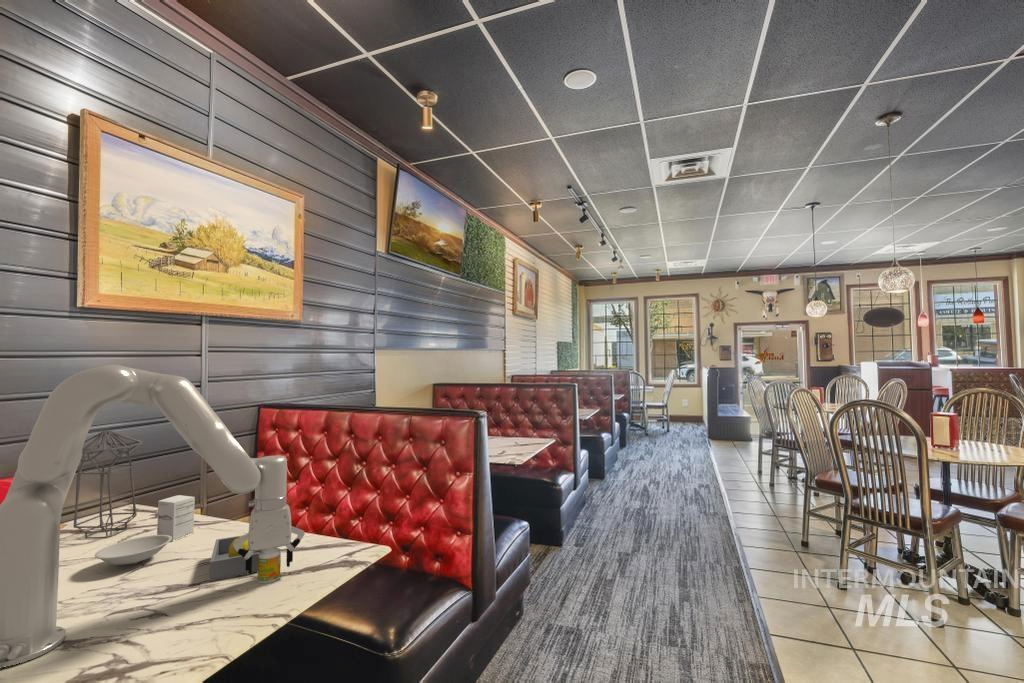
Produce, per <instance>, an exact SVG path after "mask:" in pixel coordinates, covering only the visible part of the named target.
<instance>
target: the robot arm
mask: <svg viewBox="0 0 1024 683" xmlns="http://www.w3.org/2000/svg"><path fill="white" fill-rule="evenodd" d="M118 402H119V403H125V404H132V405H133V404H134V405H139V406H146V407H154V408H158V409H159V411H160V412H161V413H162V414H163V415H164V417H165V418H166V419H167V421H168V422H169V423H170V424H171V425H172V426H173V427H174V429H175V430H176V431H177V433H178V434H179V435H180V437H182V438H183V440H184V441H185V443H187V444H188V446H189V447H190V448H191V449H192V450H193V451H194V452H195V453H196V454H198V455H199V456H200V457H201V458H202V459H203V460H205V462H206V463H207V464H208V466H210V468H212V470H213V471H214V472H215V474H216V475H217V476H218V477H219V478H220V481H221V483H223V485H225V487H226V488H227V489H228V490H229V491H230V492H232V494H233V493H234V494H235V495H247V494H249V493H251V492H253V491H254V499H253V500H251V501H248V508H250V507H253V509H252V510H251V513H250V517H249V524H248V532H247V533H246V534H243V535H244V536H243V537H241V538H240V539H238V540H237V541H235V542H234V543H233V547H234V548H235V550H236V551H237V552H238V554H240V555H241V556H242V557H244V558H245V559H246V568H245V571H247V570H248V574H247V575H252V574H253V573H252V556H251V555H252V554H253V552H254V551H259V550H265V549H271V548H276V547H277V548H282V547H286V548H287V549H286V559H285V560H286V561H285V562H286V563H285V564H286V567H287V568H290V566H291V563H293V562H294V561H293V559H294V558H293V557H294V556H293V554H294V551H295V548H297V547H298V545H299V544H300V543H301V541H302V539H303V538H304V536H305V533H306V532H305V531H304V530H303V529H300V528H298V527H295V526H293V525H292V515H291V508H290V505H289V504H287V489H288V488H287V486H288V485H287V481H288V480H287V477H288V474H287V473H288V460H287V458H286V457H285V456H283V455H267V456H261V457H250V456H249V454H248V453H247V452H246V451H245V449H244V448H243V447H242V445H240V443H239V442H238V441H237V439H235V437H234V436H233V435H232V432H230V430H229V429H228V428H227V426H226V425H225V423H224V422H223V421H222V420H221V418H220V417H219V416H218V415H217V413H216V412H215V411H214V409H213V408H212V407H211V406H210V404H209V403H208V401H207V400H206V399H205V397H203V396H202V394H201V393H200V391H199V390H198V389H197V387H196V386H195V385H194V384H193V383H192V382H191V381H190V380H189V379H188V378H186V377H183V376H181V375H180V376H179V375H176V374H175V375H173V374H166V373H160V372H154V371H149V370H144V369H139V368H132V367H129V366H125V365H120V364H107V365H106V364H105V365H102V366H97V367H93V368H92V367H91V368H88V369H85V370H82V371H79V372H77V373H75V374H73V375H71V376H70V377H67V378H65V379H64V380H63V381H62V382H60V383H59V384H58V385H57V386H56V387H55V388H54V389H53V390H52V392H51V393H50V394H49V396H48V397H47V399H46V400H45V402H44V405H43V407H42V409H41V410H40V413H39V415H38V418H37V420H36V422H35V424H34V425H33V428H32V431H31V433H30V436H29V439H28V440H27V442H26V445H25V447H24V449H23V450H22V451H21V452H20V454H19V457H18V459H17V460H18V461H17V469H16V471H15V472H14V476H13V477H12V478H13V479H12V480H11V483H10V486H9V489H8V491H7V493H6V496H5V498H4V500H3V501H2V502H1V503H0V667H4V666H9V665H13V666H16V664H17V665H19V663H20V664H24V663H25V662H28V660H29V661H32V660H33V659H35V658H39V657H40V656H42V655H45V654H47V653H49V652H50V651H52V650H54V649H55V648H56V647H58V646H60V644H62V643H63V642H64V640H65V639H66V637H67V630H66V628H64V627H62V626H58V625H57V617H58V616H57V615H58V613H57V612H58V597H59V596H58V595H59V594H58V590H59V571H60V543H61V542H60V540H61V539H60V538H61V536H60V535H61V521H62V512H63V509H64V504H65V502H66V499H67V496H68V494H69V490H70V488H71V485H72V483H73V480H74V477H75V475H76V472H77V469H78V468H79V464H81V462H80V460H81V457H82V455H83V454H82V452H83V451H82V449H84V444H85V443H86V442H85V441H86V440H87V438H88V437H87V436H88V433H89V431H90V428H91V427H92V425H93V422H94V420H95V417H96V414H98V412H99V410H101V409H102V408H103V407H104V406H106V405H108V404H110V403H111V404H112V403H118ZM84 442H85V443H84ZM82 458H83V457H82ZM292 534H294V535H297V536H296V537H295V538H294V540H293V541H292ZM247 540H248V549H247V550H245V549H244V548H243V547H242V546H241V544H242V543H244V542H245V541H247ZM9 667H10V666H9Z"/></svg>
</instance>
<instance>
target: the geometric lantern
mask: <svg viewBox="0 0 1024 683" xmlns="http://www.w3.org/2000/svg"><path fill="white" fill-rule="evenodd" d="M124 439H127V440H129V441H133V442H128V441H126V440H124ZM91 440H92V441H91ZM89 441H91V442H90V443H89V444H87V445H86V446H85V447H83V448H82V451H83V452H82V457H81V460H80V466H79V467H78V472H77V474H76V485H75V486H76V487H75V506H74V517H73V525H72V526H73V528H74V529H78V530H79V531H81V532H84V538H86V539H102V538H103V539H109V538H112V537H114V536H116V535H118V534H120V533H123V532H125V531H128V530H127V529H128V523H130V522H131V521H132V520H134V518H135V517H137V516H138V515H137V514H138V513H137V507H136V499H135V498H136V497H135V483H134V482H135V481H134V468H133V467H134V464H133V463H132V459H131V453H132V452H133V451H135V450H136V449H137V448H138V447H139V446H141V445H142V444H143V443H145V442H144V441H142V440H139V439H136V438H135V437H134V438H133V437H130V436H127V435H125V434H122V433H119V432H116V431H113V430H110V429H109V430H103V431H101V432H99V433H97V434H95V435H93V436H91V437H89V438H87V439H85V442H84V444H85V443H87V442H89ZM100 441H101V442H100ZM99 442H100V443H99ZM107 445H108V446H109V447H110V448H109V449H107ZM101 446H102V449H101V450H99V448H100V447H101ZM119 446H120V447H119ZM90 447H91V448H90ZM124 449H127V450H126V451H124ZM115 451H117V452H118V453H116V452H115ZM104 452H110V453H112V454H113V455H114V456H115V457H114V459H113V460H112V462H111V463H110V465H103V464H102V463H101V462H100V461H99V460H98V459H97V457H98V456H100V454H102V453H104ZM96 453H97V454H96ZM124 457H127V461H128V464H118V465H115V463H116V462H117V461H118V459H120V458H124ZM86 458H88V459H86ZM93 459H94V460H95V461H96V462H98V464H99V465H101V466H100V467H99V466H98V465H97V464H96V462H94V460H93ZM85 462H91V463H92V464H93V466H94V467H95V468H92V469H86V470H84V471H83V467H84V463H85ZM113 467H123V468H119V469H115V470H112V469H111V468H113ZM106 468H108V469H107V471H105V469H106ZM126 469H129V478H130V483H131V486H130V487H131V494H132V512H113V508H112V506H113V504H112V473H115V472H118V471H121V470H126ZM93 470H94V471H95V470H98V471H99V472H92V471H93ZM90 471H91V472H90ZM82 475H100V476H99V478H100V479H99V480H100V482H99V483H100V486H99V488H100V489H99V491H100V493H99V515H97V516H94V517H92V518H89V519H87V520H84V521H81V522H78V521H77V520H78V505H79V497H80V488H81V478H82ZM105 475H107V486H108V487H107V488H108V489H107V490H108V503H109V513H103V495H104V494H103V493H104V480H105V478H104V477H105ZM113 515H114V516H115V515H117V516H118V515H131V516H128V517H125V518H123V519H120V520H117V521H114V520H113V519H114V518H113ZM104 516H106V517H107V516H108V518H107V520H106V522H105V523H104V521H103V517H104ZM98 518H99V525H94V526H93V525H90V526H89V525H83V524H85V523H88V522H90V521H93V520H95V519H98ZM109 520H110V522H109ZM116 524H119V525H117V526H116V527H113V526H114V525H116ZM81 525H82V526H81ZM109 526H110V527H109ZM123 526H124V527H123ZM85 529H87V530H85ZM94 529H99V530H94ZM113 530H120V531H118V532H116V533H114V534H113ZM108 532H110V535H108ZM88 533H90V534H88ZM97 533H105V536H92V535H94V534H97Z"/></svg>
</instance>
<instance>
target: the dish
mask: <svg viewBox="0 0 1024 683" xmlns="http://www.w3.org/2000/svg"><path fill="white" fill-rule="evenodd" d="M171 540H172V537H171V536H169V535H157V534H153V535H152V534H151V535H143V536H139V537H135V538H131V539H126V540H122V541H120V542H117V543H113V544H111V545H108V546H106V547H103V548H102V549H99V550H98V551H96V552H95V553H94V558H96V559H99V560H101V561H103V562H105V563H107V564H110V565H115V566H120V565H121V566H122V565H123V566H124V565H137V564H138V563H139V562H141V561H144V560H147V559H149V558H151V557H153V556H155V555H156V554H158V553H159V552H160V551H162V550H163V548H165V546H166V545H168V543H170V542H172V541H171Z"/></svg>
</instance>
